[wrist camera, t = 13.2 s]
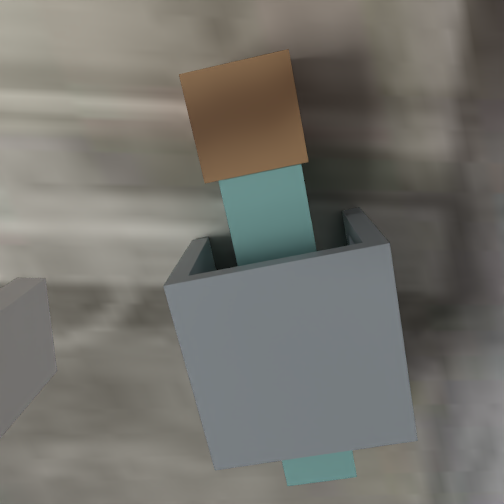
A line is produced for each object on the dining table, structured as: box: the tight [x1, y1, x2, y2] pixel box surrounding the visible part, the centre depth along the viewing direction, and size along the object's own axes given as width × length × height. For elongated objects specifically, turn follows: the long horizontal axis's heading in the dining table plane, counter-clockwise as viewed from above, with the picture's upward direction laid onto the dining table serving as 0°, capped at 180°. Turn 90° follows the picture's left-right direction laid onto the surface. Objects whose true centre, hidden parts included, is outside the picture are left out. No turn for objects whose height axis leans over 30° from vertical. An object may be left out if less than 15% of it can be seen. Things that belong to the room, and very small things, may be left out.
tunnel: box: [163, 207, 418, 470], centre depth 26 cm, size 10×10×8 cm
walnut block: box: [179, 49, 309, 183], centre depth 25 cm, size 5×5×5 cm
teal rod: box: [219, 164, 357, 486], centre depth 28 cm, size 18×4×5 cm, turn 12°
